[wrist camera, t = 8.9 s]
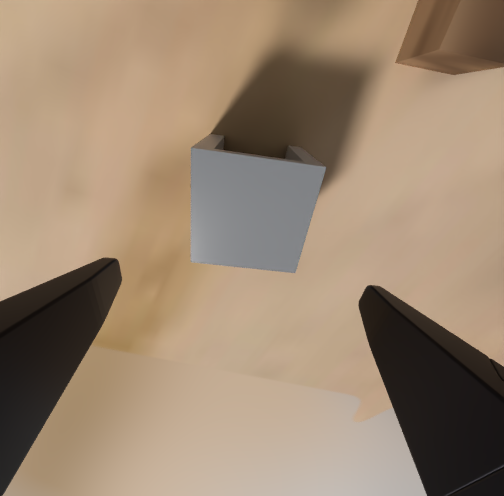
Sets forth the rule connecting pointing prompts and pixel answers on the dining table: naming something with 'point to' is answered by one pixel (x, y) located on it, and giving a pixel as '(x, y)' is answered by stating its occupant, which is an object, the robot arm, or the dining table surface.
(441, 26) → the walnut block
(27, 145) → the dining table surface
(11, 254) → the dining table surface
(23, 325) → the robot arm
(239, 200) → the grey cover
